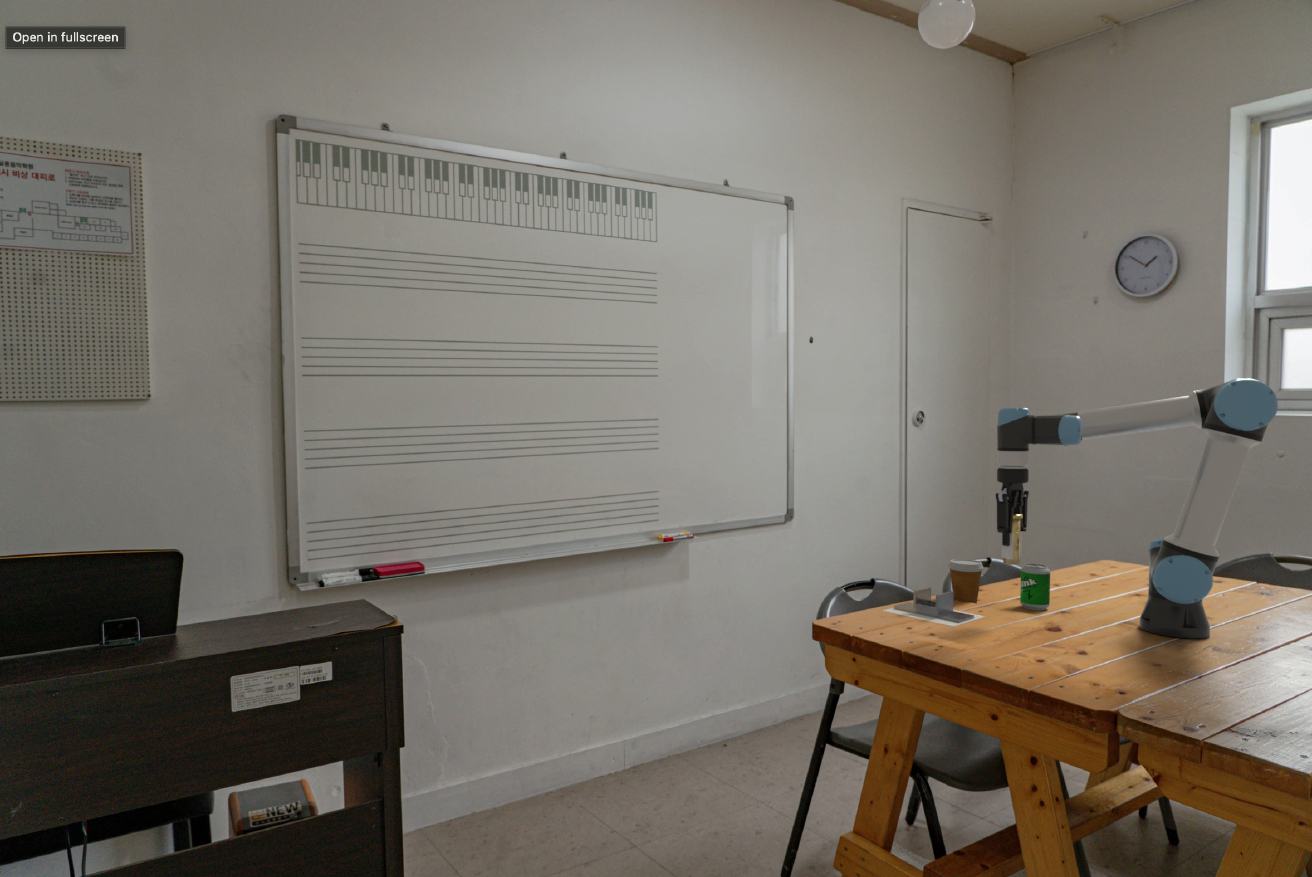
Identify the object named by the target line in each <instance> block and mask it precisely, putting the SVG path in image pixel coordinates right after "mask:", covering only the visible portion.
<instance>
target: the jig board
mask: <svg viewBox="0 0 1312 877" xmlns="http://www.w3.org/2000/svg"><path fill="white" fill-rule="evenodd" d="M953 611H955V612H960V613H965V614H970V615H974V619H971V620H968V621H964V622H961V623H958V622H953V621H948V620H944V619H939V618H934V617H930V616H925V615H920V614H916V613H912V612H907V611H902V610H898V609H894V607H891V608H887V609H883V610H882V612H886V613H890V614H895V615H900V616H905V617H908V618H913V619H916V620H917V619H918V620H922V621H927V622H930V623H934V624H940V625H944V626H949V627H954V628H955V627H957V626H960V625H964V624H966V623H969V622H972V621H976V620H979V619H982V618H985V617H986V615H985V616H984V615H980V614H975V613H970V612H966V611H960V610H957V609H953Z"/></svg>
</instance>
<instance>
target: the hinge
mask: <svg viewBox="0 0 1312 877" xmlns="http://www.w3.org/2000/svg"><path fill="white" fill-rule="evenodd" d="M953 596H954V592H953V591H952V590H950V591H946V592H942V593H938V594H936V595H935V600H932V587H931V586H926V587H923V588H920V589H914V590H913V596H912V597H913V599H912V600H913V601H912V602H911V601H907V602H902V603H899V604H896V605H895V604H894V605H893V608H894V609H898V610H902V611H907V612H912V613H916V614H920V615H925V616H930V617H934V618H939V619H944V620H948V621H953V622H958V623H961V622H964V621H968V620H971V619H974V615H970V614H965V613H960V612H955V611H953V610H954V599H953Z"/></svg>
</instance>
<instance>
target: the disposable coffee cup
mask: <svg viewBox="0 0 1312 877" xmlns="http://www.w3.org/2000/svg"><path fill="white" fill-rule="evenodd" d="M947 566H948V567H949V572H950V580H951V581H950V582H951V591H953V592H954V596H953V600H956V601H959V602H966V603H970V604H971V603H972V604H977V603H978V598H979V591H980V584H981V578H982V573H983V572H982V571H983V569H984V566H983V563H982V562H981V561H980V560H976V559H975V560H974V559H966V558H965V559H964V558H956V559H951V560H950V561H949V563H948V565H947Z"/></svg>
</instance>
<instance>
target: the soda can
mask: <svg viewBox="0 0 1312 877" xmlns="http://www.w3.org/2000/svg"><path fill="white" fill-rule="evenodd" d="M1019 594H1020V598H1019V599H1020V600H1019V601H1020V602H1019V603H1020V604H1021V606H1022V607H1023V608H1024V609H1027V610H1030V611H1031V610H1032V611H1046V610H1047V609H1048V608H1049V607H1050V602H1051V600H1050V599H1051V597H1050V596H1051V570H1050V569H1049V567H1048V566H1047V565H1045V564H1040V563H1025V564H1024V565H1022V566H1021V568H1020V592H1019Z"/></svg>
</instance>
